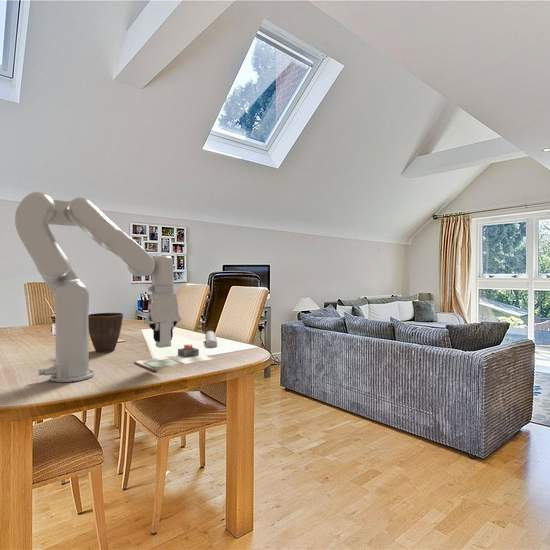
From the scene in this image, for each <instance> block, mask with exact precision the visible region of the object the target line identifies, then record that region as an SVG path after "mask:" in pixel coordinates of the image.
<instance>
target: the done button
mask: <svg viewBox="0 0 550 550" xmlns="http://www.w3.org/2000/svg"><path fill="white" fill-rule="evenodd" d="M192 347H193V344H184V345H183V348H184V350H192Z"/></svg>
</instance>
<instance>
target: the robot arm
mask: <svg viewBox="0 0 550 550" xmlns="http://www.w3.org/2000/svg"><path fill="white" fill-rule="evenodd" d="M14 225H15V228H16V232H17V235H18V237H19V238H20V240H21V242H22V244H23V245H24V247H25V249H26V251H27V252H28V254H29V255H30V257H31V259H32V260H33V262H34V265H35V266H36V269H37V271H38V273H39V275H40V276H41V277H42V279H43V281H44V282H45V283H46V286H47V287H48V289H49V290H50V292H51V293H52V295H53V296H54V304H55V305H54V311H55V312H54V313H55V314H54V317H55V319H54V320H55V321H54V329H55V336H54V337H55V363H53V364H52V366H50V367H48V368H41V369H37V370H38V372H37V374H38V376H49V380H50V381H51V382H54V381H55V383H72V381H73V382H79V381H83V380H86V379H90V378H92V377H93V376H94V374H95V371H94V370H92V369H90V364H89V362H90V357H89V355H90V354H89V353H90V349H89V344H90V341H89V340H90V339H89V338H90V334H89V328H88V315H89V312H90V311H89V308H90V292H89V290H88V287H87V285H85V284H84V283H83V282H82V280H81V279H80V277H79V275H78V274H77V272H76V271H75V270H74V268H73V266H72V264H71V262H70V259H69V257H68V255H66V254H65V253H64V251H63V249H62V248H61V246H60V244H59V242H58V241H57V240H56V238H55V236H54V234H53V233H52V231H51V229H50V226H49V225H53V226H56V225H57V226H66V227H67V226H71V227H72V226H73V227H74V226H75V227H78V228H80V229H81V230H82V231H83V232H84V233H85V234H87V236H89V237H90V238H91V239H92V240H93V241H94V242H96V244H98V246H100V247H102V248H103V249H104V250H107V251H109V252H111V253H112V254H114V255H115V256H116V257H118V258H119V259H120V260H122V261H123V262H124V263H125V264H126V266H127V270H128V271H129V273H130V274H131V275H132V276H135V277H148V276H151V285H150V287H149V286H148V288H147V290H148V292H151V293H150V294H149V299H148V303H147V304H148V306H147V316H146V317H145V319H144V320H143V324H145V325H146V326H148V327H149V328H150V329H151V330H152V331H153V334H152V335H153V341H154V342H155V343H156V342H159V341H160V331H159V329H158V328H159V322H168V321H171V341H172V340H173V335H174V334H173V333H174V332H173V330H174V328H175V327H176V326H177V324H179V322H181V321H182V318H181V315H180V314H179V304H178V298H177V294H176V293H174V259H173V257H172V256H170V255H155V256H152V255H151V254H149V253H148V252H147V251H146V250H145V248H143V246H141V245H140V244H139V243H138V242H137V241H136V240H134V239H133V238H132V237H131V236H129V235H128V234H127V233H125V231H123V230H122V229H120V228H119V227H118V226H117V225H116V224H115V223H114V222H113V221H112V220H110V219H109V217H107V216H106V215H105V213H103V212H102V211H101V210H100V209H99V208H98V207H97V206H96V205H95V204H94V203H92V201H90V200H89V199H88V198H85V197H79V196H78V197H76V198H73V199H71V200H59V199H53V198H52V197H51V195H48V194H47V193H46V192H41V191H35V192H31V193H28V194H26V196H25V197H23V198H22V199H21V201H20V202H19V204H18V206H17V207H16V210H15V215H14Z"/></svg>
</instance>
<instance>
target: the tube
mask: <svg viewBox="0 0 550 550" xmlns="http://www.w3.org/2000/svg"><path fill="white" fill-rule="evenodd" d="M204 337H205V338H204V339H205V344H206V348H217V347H218V341H217V336H216V332H214V330H208V331H207V332H205V335H204Z"/></svg>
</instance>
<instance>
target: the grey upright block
mask: <svg viewBox="0 0 550 550" xmlns="http://www.w3.org/2000/svg"><path fill="white" fill-rule="evenodd" d="M158 329H159V331H160V341H159V342H156V341H155V347H156V348H160V349H162V348H171V347H172V340H171V321H168V322H159V328H158Z"/></svg>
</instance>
